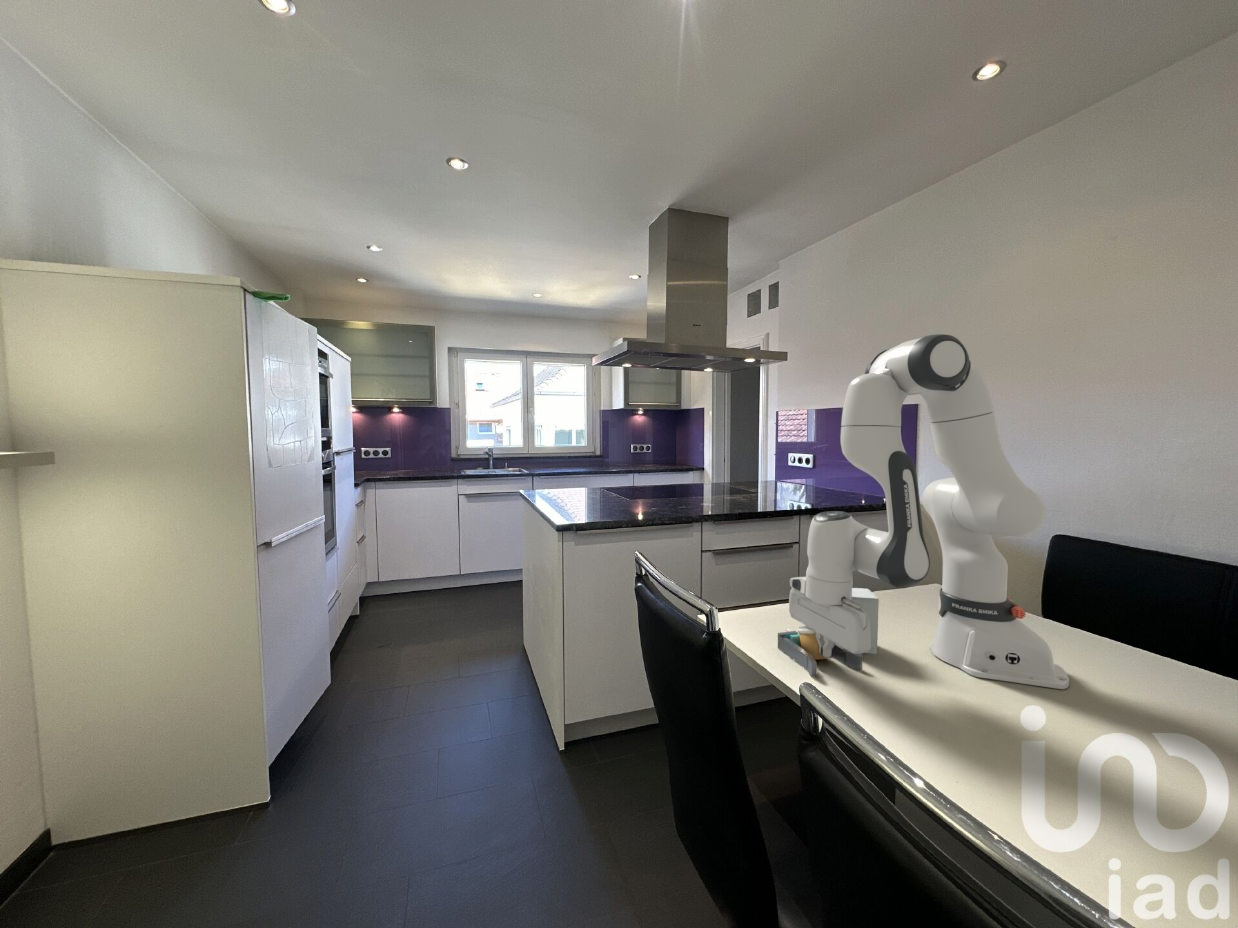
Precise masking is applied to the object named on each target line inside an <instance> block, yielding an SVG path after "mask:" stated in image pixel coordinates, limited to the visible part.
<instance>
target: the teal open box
mask: <svg viewBox="0 0 1238 928" xmlns="http://www.w3.org/2000/svg"><path fill="white" fill-rule="evenodd" d="M790 631H792V630H791V629H789V628H788V627H787V628H786V629H785V632H790ZM790 640H791V641H793V642H794V643H795V644H797V645H798V646H800V647H801V642H800V636H799V633H798V634H796V635H790ZM801 648H802V647H801Z"/></svg>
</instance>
